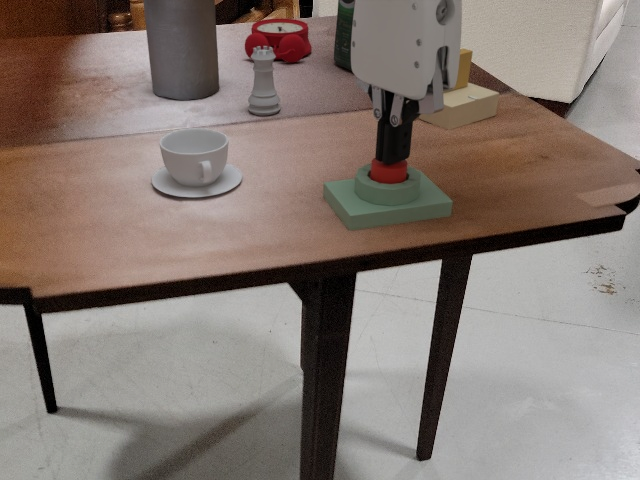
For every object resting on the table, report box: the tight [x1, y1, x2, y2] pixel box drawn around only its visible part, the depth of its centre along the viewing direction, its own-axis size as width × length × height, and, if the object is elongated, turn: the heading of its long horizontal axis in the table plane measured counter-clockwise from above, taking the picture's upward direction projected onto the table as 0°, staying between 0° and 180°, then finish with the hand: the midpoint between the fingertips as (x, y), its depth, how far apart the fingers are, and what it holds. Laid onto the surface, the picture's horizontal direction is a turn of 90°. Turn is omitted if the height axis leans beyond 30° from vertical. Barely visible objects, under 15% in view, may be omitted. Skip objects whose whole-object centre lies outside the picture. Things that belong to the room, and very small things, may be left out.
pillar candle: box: [142, 0, 220, 101], centre depth 101 cm, size 10×10×15 cm
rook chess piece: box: [247, 46, 281, 117], centre depth 96 cm, size 4×4×8 cm
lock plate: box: [406, 82, 500, 131], centre depth 97 cm, size 10×9×3 cm
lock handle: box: [443, 48, 473, 93], centre depth 95 cm, size 6×2×5 cm, turn 126°
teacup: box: [151, 127, 243, 198], centre depth 80 cm, size 10×10×5 cm
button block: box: [322, 163, 454, 232], centre depth 75 cm, size 11×8×4 cm
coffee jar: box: [333, 0, 355, 71], centre depth 109 cm, size 10×8×19 cm
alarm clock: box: [244, 18, 313, 64], centre depth 118 cm, size 10×6×15 cm
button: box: [370, 157, 409, 184], centre depth 74 cm, size 4×4×2 cm
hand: (392, 159), depth 73 cm, fingers closed
